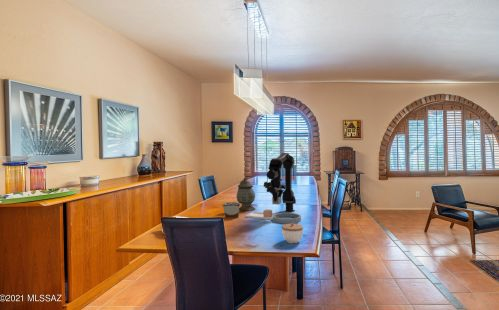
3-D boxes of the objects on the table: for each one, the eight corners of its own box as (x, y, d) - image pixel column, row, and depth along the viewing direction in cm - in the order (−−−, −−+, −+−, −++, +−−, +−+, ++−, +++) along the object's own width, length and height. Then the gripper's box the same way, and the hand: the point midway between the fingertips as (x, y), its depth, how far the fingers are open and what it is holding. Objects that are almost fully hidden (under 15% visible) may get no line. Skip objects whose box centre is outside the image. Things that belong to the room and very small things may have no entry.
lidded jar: (280, 238, 160) (279, 220, 160) (300, 237, 161) (299, 220, 161) (284, 245, 150) (283, 226, 150) (305, 244, 151) (305, 225, 150)
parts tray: (254, 213, 221) (253, 211, 221) (278, 215, 212) (278, 213, 212) (245, 217, 209) (245, 215, 209) (270, 220, 200) (270, 217, 200)
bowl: (279, 216, 211) (279, 211, 211) (304, 218, 202) (304, 214, 202) (268, 222, 195) (268, 217, 195) (295, 225, 186) (295, 220, 186)
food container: (241, 216, 213) (241, 201, 213) (240, 218, 207) (240, 203, 207) (224, 216, 215) (224, 202, 214) (222, 218, 209) (222, 203, 208)
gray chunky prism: (275, 202, 205) (275, 196, 205) (281, 203, 203) (281, 196, 203) (272, 203, 201) (272, 197, 201) (278, 204, 199) (278, 197, 199)
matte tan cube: (266, 215, 211) (266, 209, 211) (272, 216, 209) (272, 209, 209) (263, 217, 207) (263, 210, 207) (269, 217, 205) (269, 211, 205)
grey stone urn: (253, 212, 225) (253, 178, 224) (235, 211, 228) (234, 178, 227) (257, 208, 239) (256, 176, 238) (239, 208, 241) (238, 176, 241)
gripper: (271, 176, 213) (271, 198, 214) (259, 178, 197) (259, 202, 198) (286, 176, 208) (286, 199, 208) (274, 179, 192) (275, 204, 192)
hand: (276, 201), depth 202 cm, fingers closed on gray chunky prism, 4 cm apart
